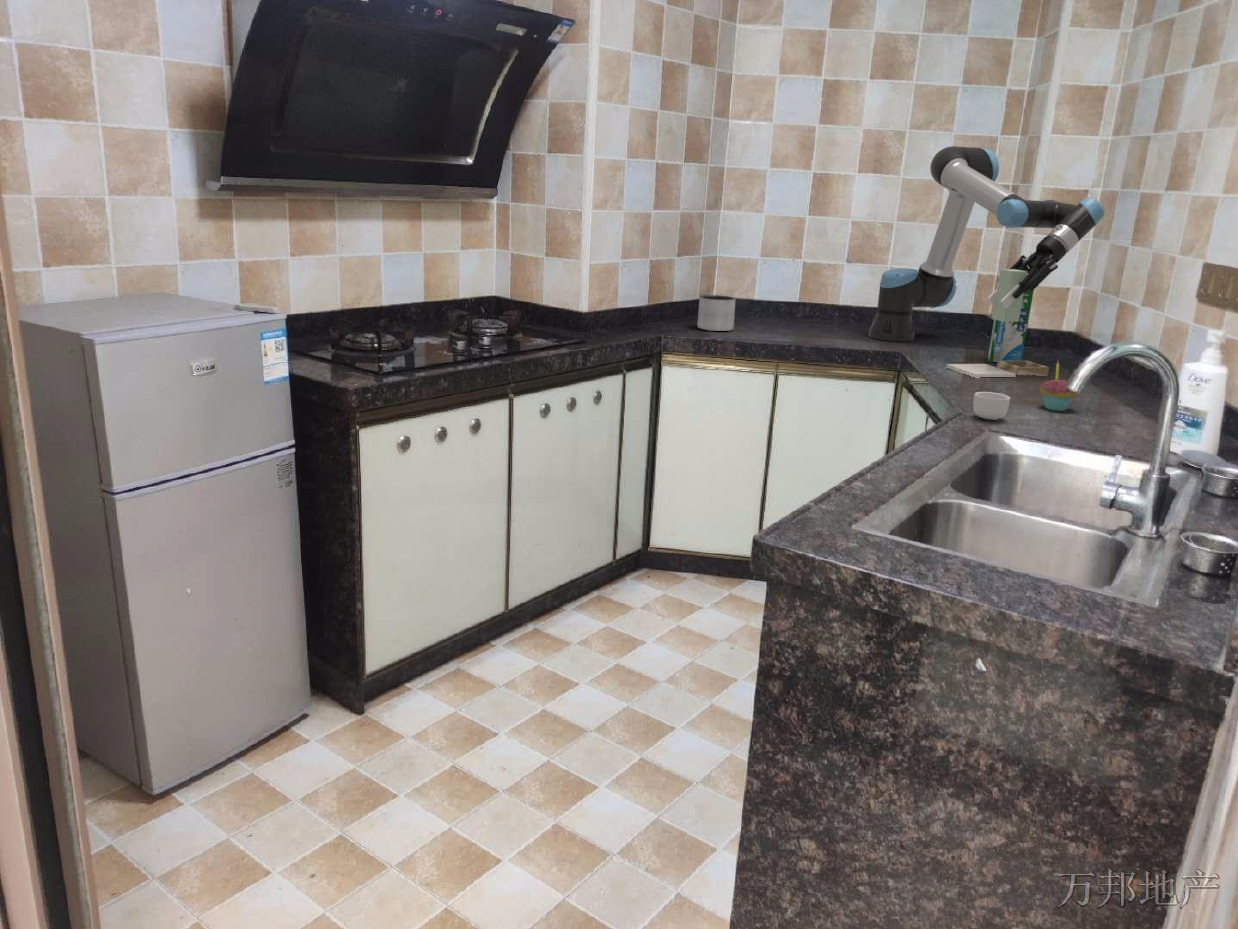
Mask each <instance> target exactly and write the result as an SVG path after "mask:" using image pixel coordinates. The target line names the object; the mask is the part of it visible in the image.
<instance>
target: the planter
mask: <svg viewBox="0 0 1238 929" xmlns="http://www.w3.org/2000/svg"><path fill="white" fill-rule="evenodd" d="M735 311H736V297H734V296H728V295H718V294H704V295H703V294H702V295H700V296H699V302H698V314H697V324H696V325H697V328H698V329H699V328H700V329H699V330H701V329H703V330H702V331H704V330H707V331H706V332H711V331H728V332H731V331H733V330H734V328H735V325H734V324H735V313H736V312H735Z"/></svg>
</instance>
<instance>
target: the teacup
mask: <svg viewBox="0 0 1238 929" xmlns="http://www.w3.org/2000/svg"><path fill="white" fill-rule="evenodd" d="M1010 402H1011V397H1010V396H1008V395H1006V394H1004V393H999V392H994V391H993V392H991V391H977V392H975V393H974V395H973V406H972V407H973V408H972V409H973V413H974V414H975V416H977V415H978V416H980V417H987V418H996V419H997V418H1001V419H1003V418H1004V417H1005V415H1007V412H1008V410H1009V407H1010ZM978 416H977V417H978Z"/></svg>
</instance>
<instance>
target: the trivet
mask: <svg viewBox="0 0 1238 929" xmlns="http://www.w3.org/2000/svg"><path fill="white" fill-rule="evenodd" d="M947 368H949V369H948V370H950V369H951V371H953V370H954V372H956V373H959V374H961V375H964V374H966V375H965V376H967V375H969V376H968V377H970V376H971V377H970V378H973V377H975V378H974V379H981V378H980V377H1015V378H1016V377H1017V376H1016V374H1015V373H1012V372H1009V371H1006V370H1003V369H1000V368H997V367H996V366H993V365H991V364H987V363H947V364H946V369H947Z"/></svg>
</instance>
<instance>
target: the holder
mask: <svg viewBox="0 0 1238 929" xmlns="http://www.w3.org/2000/svg"><path fill="white" fill-rule="evenodd" d="M995 367H997V368H1000V369H1003V370H1006V371H1009V372H1012V373H1015V374H1016V375H1024V376H1023V377H1028V376H1027V375H1030V376H1029V377H1032V376H1031V375H1036V376H1035V377H1048V376H1049V371H1050V367H1049V366H1046V365H1043V364H1039V363H1036V362H1032V361H1030V360H1025V359H1024V360H1021V361H997V363H996V366H995ZM1025 375H1026V376H1025Z"/></svg>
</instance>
